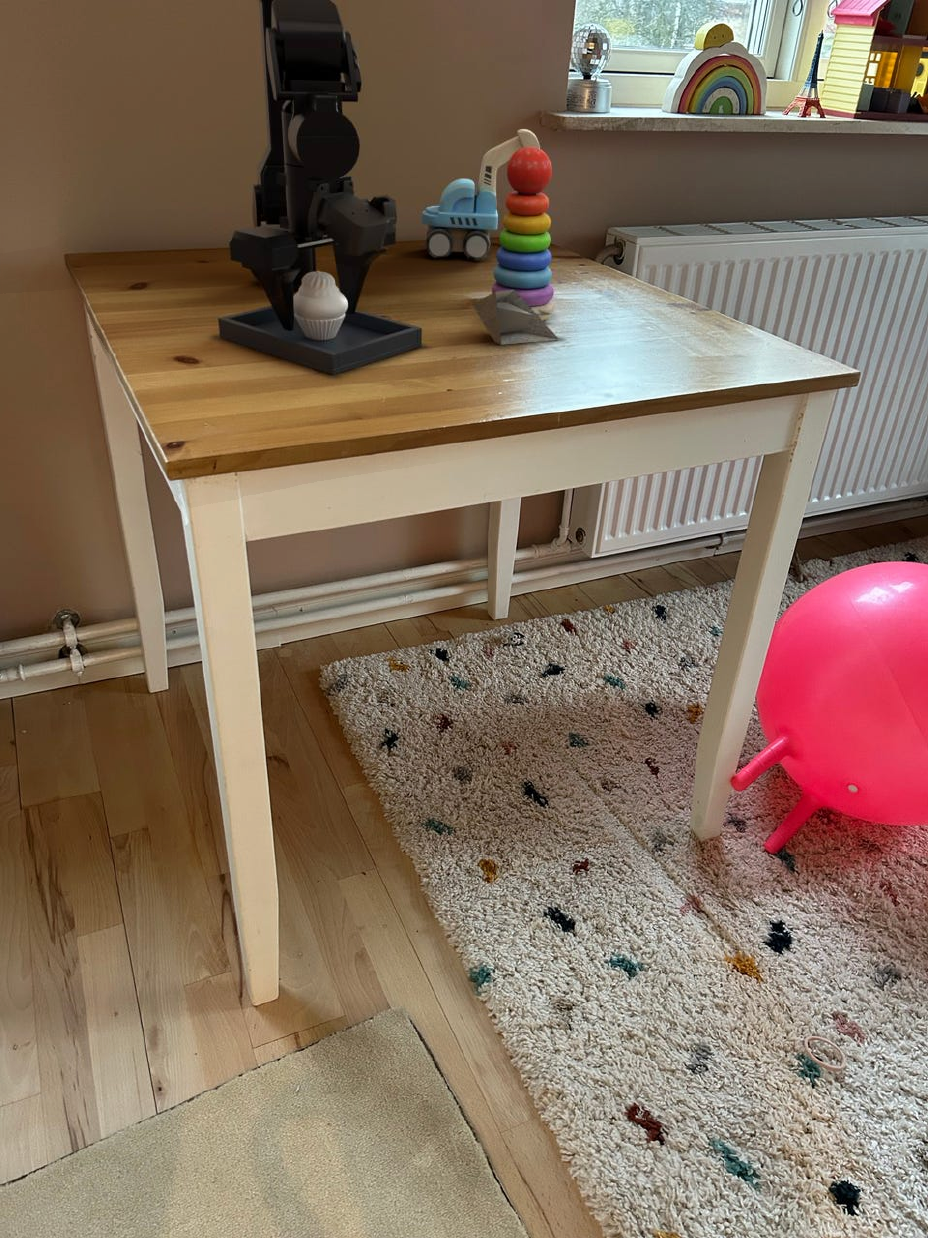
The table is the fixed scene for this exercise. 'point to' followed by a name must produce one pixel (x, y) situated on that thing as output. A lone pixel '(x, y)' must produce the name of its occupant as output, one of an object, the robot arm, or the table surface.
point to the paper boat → (512, 319)
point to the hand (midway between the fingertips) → (320, 321)
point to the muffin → (319, 306)
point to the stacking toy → (527, 232)
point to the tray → (349, 349)
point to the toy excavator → (471, 206)
